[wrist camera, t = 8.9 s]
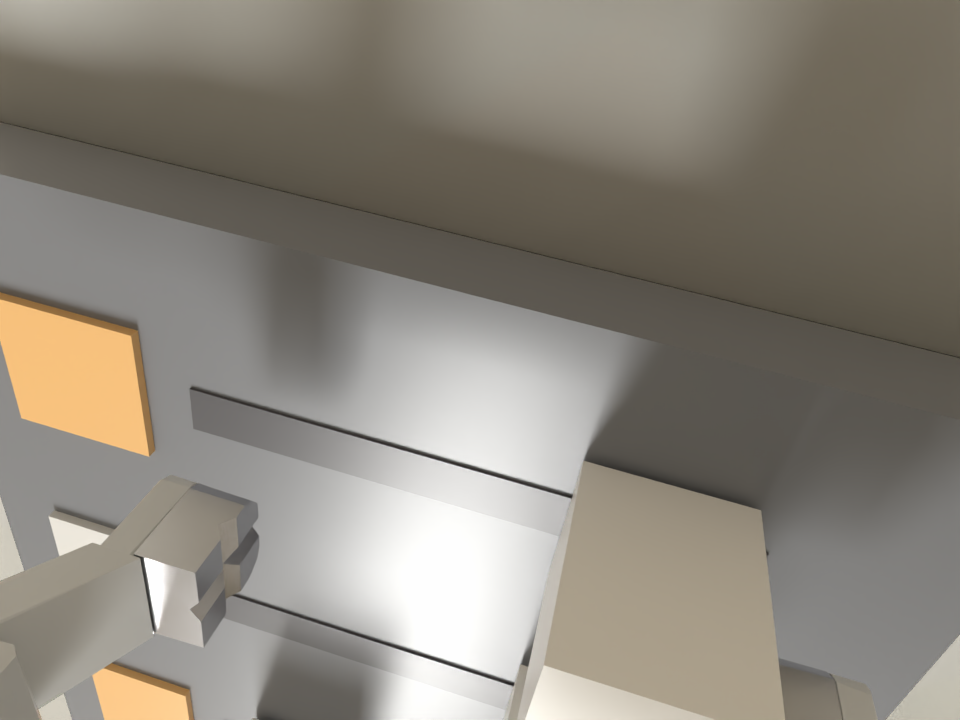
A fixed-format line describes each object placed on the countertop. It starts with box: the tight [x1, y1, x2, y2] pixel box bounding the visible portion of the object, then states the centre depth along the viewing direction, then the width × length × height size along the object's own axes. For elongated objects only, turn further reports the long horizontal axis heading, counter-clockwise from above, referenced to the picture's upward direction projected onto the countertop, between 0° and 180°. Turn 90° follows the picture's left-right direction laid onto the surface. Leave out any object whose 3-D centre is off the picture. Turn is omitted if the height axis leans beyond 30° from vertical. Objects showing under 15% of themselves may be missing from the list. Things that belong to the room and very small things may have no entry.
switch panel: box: [0, 122, 960, 720], centre depth 18 cm, size 20×20×2 cm
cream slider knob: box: [517, 461, 785, 720], centre depth 11 cm, size 3×3×4 cm
